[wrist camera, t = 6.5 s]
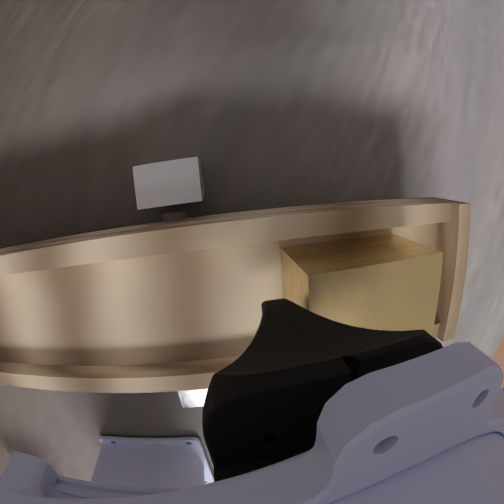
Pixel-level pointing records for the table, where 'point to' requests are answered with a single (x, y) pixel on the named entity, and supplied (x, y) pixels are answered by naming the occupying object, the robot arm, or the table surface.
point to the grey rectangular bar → (170, 193)
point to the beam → (185, 290)
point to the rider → (366, 281)
